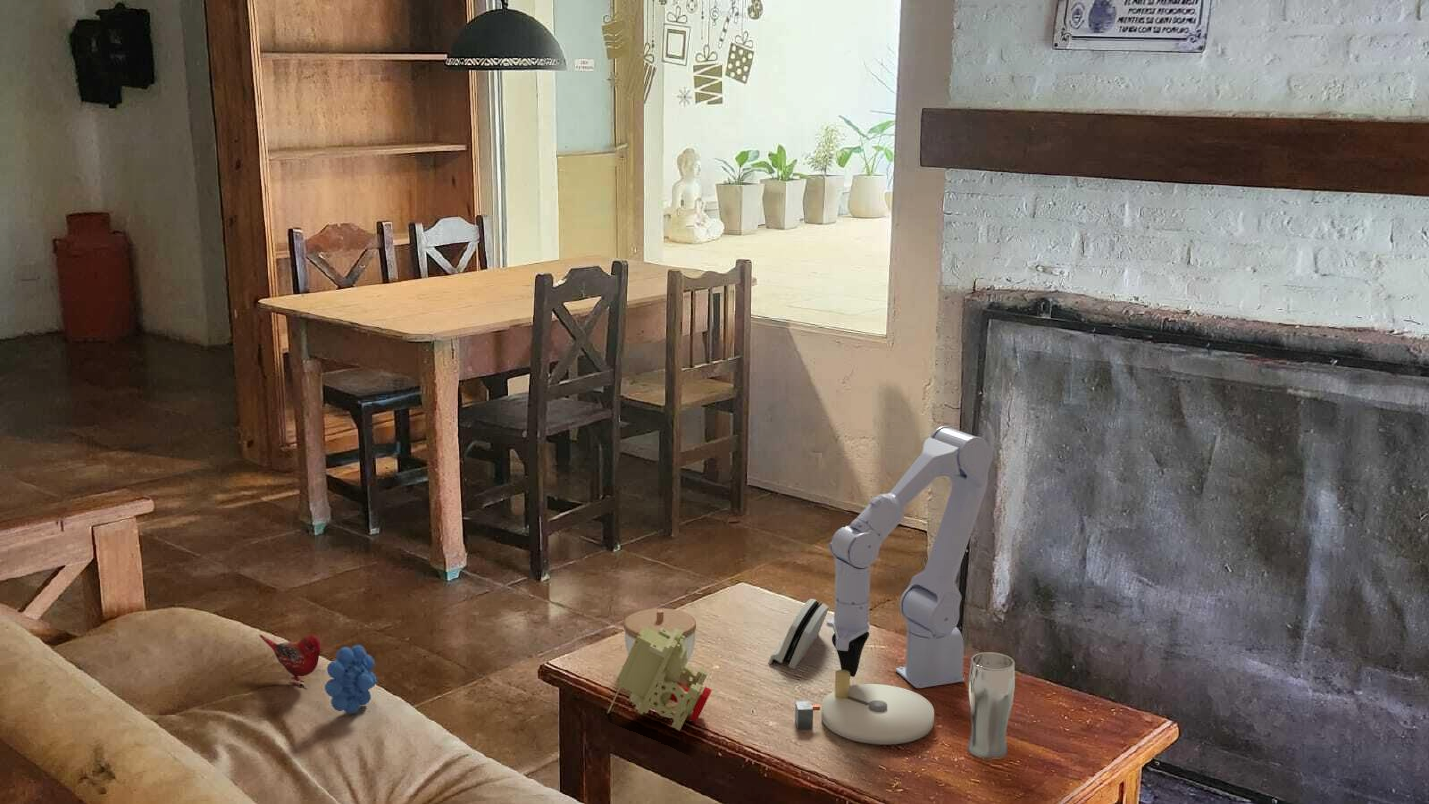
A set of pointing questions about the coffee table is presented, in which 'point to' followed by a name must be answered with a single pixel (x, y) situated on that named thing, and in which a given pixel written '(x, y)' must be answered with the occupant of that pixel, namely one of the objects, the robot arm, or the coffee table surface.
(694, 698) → the mechanical component
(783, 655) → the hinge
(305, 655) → the decorative bird figurine
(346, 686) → the grapes
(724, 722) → the coffee table surface
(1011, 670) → the beer glass
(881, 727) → the turntable
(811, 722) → the gray block
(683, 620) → the lidded bowl
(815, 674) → the coffee table surface
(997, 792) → the coffee table surface
